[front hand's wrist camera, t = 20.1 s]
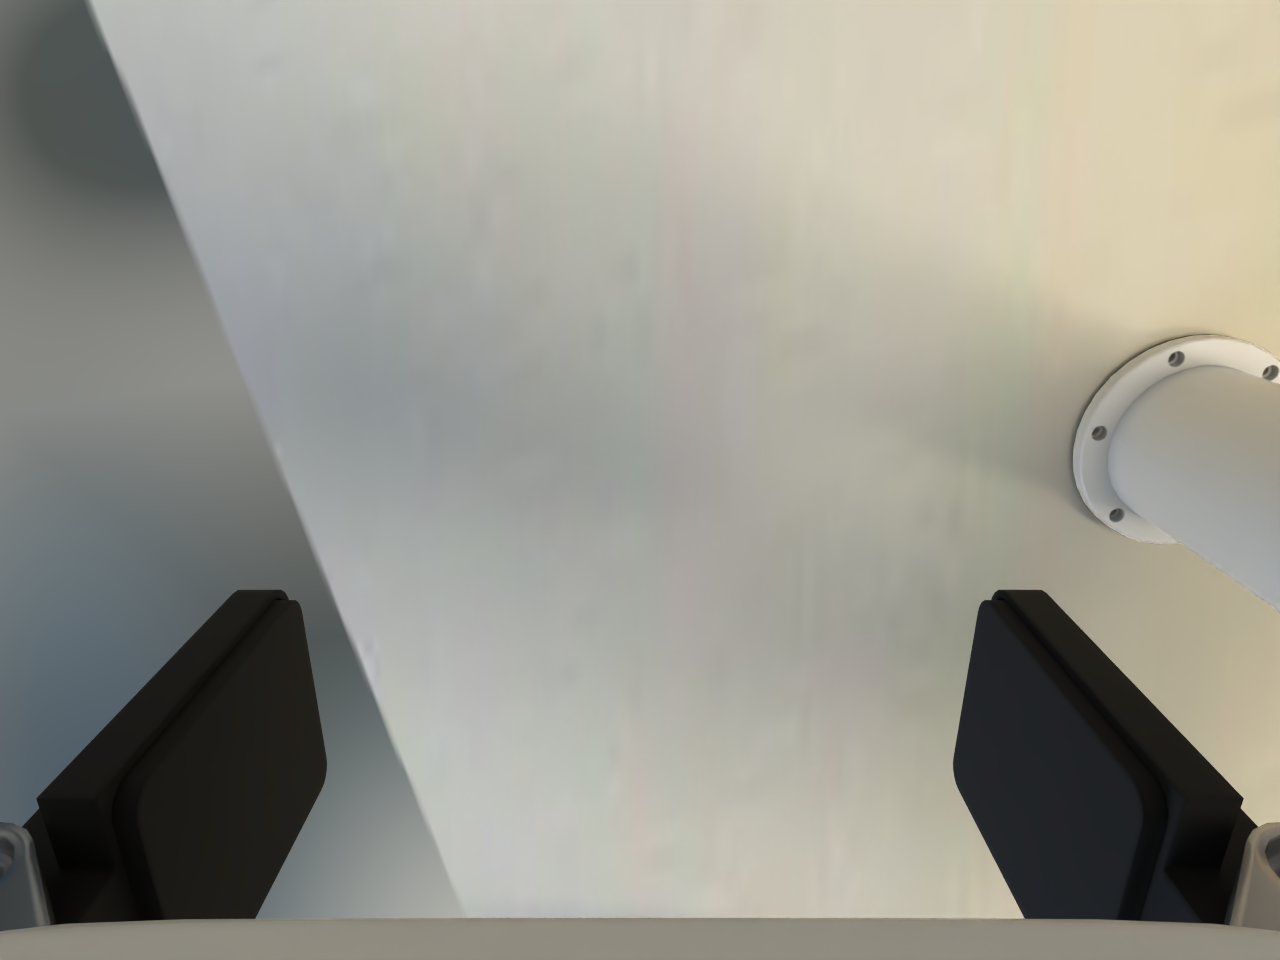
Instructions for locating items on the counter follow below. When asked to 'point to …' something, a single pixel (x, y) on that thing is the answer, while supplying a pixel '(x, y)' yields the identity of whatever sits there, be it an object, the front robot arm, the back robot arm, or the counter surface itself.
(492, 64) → the counter surface
